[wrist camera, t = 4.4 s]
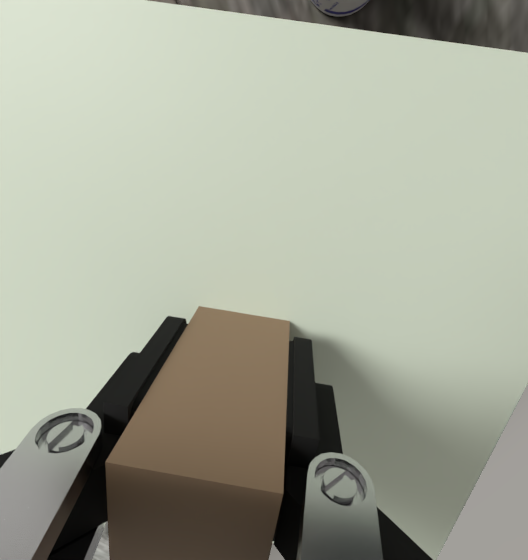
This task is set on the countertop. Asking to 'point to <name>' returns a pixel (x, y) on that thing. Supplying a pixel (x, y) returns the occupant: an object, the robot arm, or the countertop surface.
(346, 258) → the lid
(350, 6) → the energy drink
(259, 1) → the countertop surface
